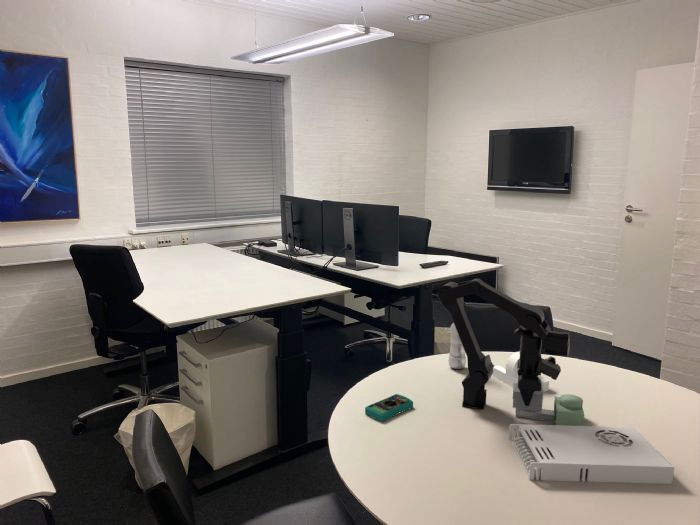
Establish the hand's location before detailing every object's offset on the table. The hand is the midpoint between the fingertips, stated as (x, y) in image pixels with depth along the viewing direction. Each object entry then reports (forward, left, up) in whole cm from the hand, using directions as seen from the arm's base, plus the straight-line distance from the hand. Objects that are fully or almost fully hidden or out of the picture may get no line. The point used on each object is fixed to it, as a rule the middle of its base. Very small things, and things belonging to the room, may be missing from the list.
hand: (526, 400), depth 152 cm
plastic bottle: (-23, +32, -5) cm, 40 cm away
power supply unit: (+14, -21, -6) cm, 25 cm away
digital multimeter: (-39, -9, -5) cm, 41 cm away
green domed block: (+6, 0, -5) cm, 8 cm away
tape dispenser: (-1, +25, -5) cm, 26 cm away
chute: (0, 0, -1) cm, 1 cm away
